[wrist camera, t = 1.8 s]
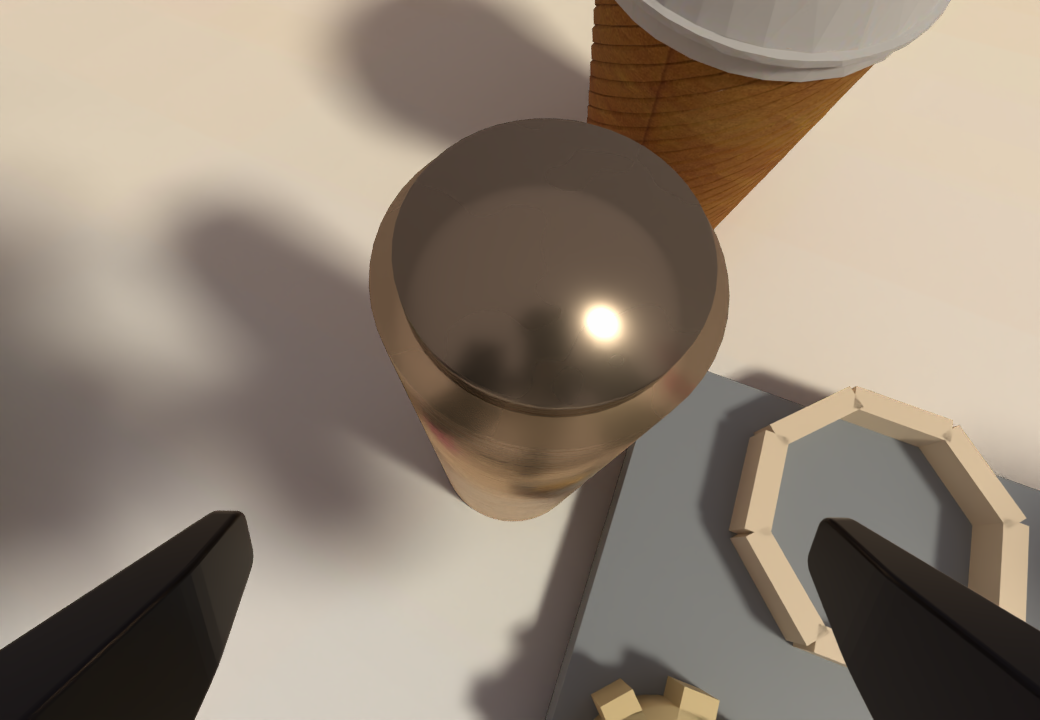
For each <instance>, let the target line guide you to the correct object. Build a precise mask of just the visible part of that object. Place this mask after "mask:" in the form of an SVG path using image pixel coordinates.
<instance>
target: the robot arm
mask: <svg viewBox="0 0 1040 720" xmlns="http://www.w3.org/2000/svg"><path fill="white" fill-rule="evenodd" d="M252 563H253V548H252V544H251V539H250V535H249V530H248V525H247V521H246V518H245V515H244V514H243V513H242V512H240V511H214V512H211V513H209V514H208V515H206V516H205V517H203V518H202V519H200V520H198V521H197V522H195V523H194V524H192V525H191V526H189V527H188V528H186V529H185V530H183V531H182V532H180V533H179V534H177V535H175V536H174V537H172V538H171V539H169V540H168V541H166V542H165V543H163V544H162V545H160V546H159V547H157V548H156V549H154V550H153V551H151V552H149V553H148V554H146V555H145V556H143V557H142V558H140V559H139V560H137V561H136V562H134V563H133V564H131V565H130V566H128V567H126V568H125V569H123V570H122V571H120V572H119V573H117V574H116V575H114V576H113V577H111V578H110V579H108V580H107V581H105V582H103V583H102V584H100V585H99V586H97V587H96V588H94V589H93V590H91V591H90V592H88V593H87V594H85V595H84V596H82V597H80V598H79V599H77V600H76V601H74V602H73V603H71V604H70V605H68V606H67V607H65V608H64V609H62V610H61V611H59V612H57V613H56V614H54V615H53V616H51V617H50V618H48V619H47V620H45V621H44V622H42V623H41V624H39V625H38V626H36V627H35V628H33V629H31V630H30V631H28V632H27V633H25V634H24V635H22V636H21V637H19V638H18V639H16V640H15V641H13V642H12V643H10V644H8V645H7V646H5V647H4V648H2V649H1V650H0V720H195V718H196V716H197V713H198V711H199V709H200V707H201V705H202V702H203V700H204V698H205V696H206V693H207V691H208V689H209V687H210V685H211V682H212V680H213V678H214V675H215V673H216V671H217V668H218V666H219V663H220V660H221V657H222V655H223V652H224V649H225V646H226V643H227V640H228V637H229V634H230V631H231V628H232V625H233V622H234V619H235V616H236V613H237V610H238V607H239V604H240V601H241V598H242V595H243V592H244V589H245V586H246V583H247V580H248V577H249V574H250V571H251V568H252ZM808 569H809V572H810V575H811V578H812V580H813V583H814V585H815V588H816V590H817V593H818V596H819V598H820V601H821V603H822V606H823V608H824V611H825V613H826V616H827V619H828V621H829V624H830V626H831V629H832V631H833V634H834V637H835V639H836V642H837V644H838V647H839V649H840V652H841V654H842V656H843V659H844V661H845V663H846V666H847V668H848V670H849V672H850V674H851V676H852V678H853V680H854V683H855V685H856V687H857V689H858V691H859V692H860V694H861V696H862V698H863V700H864V702H865V704H866V706H867V708H868V710H869V712H870V714H871V716H872V718H873V720H1040V630H1038V629H1036V628H1035V627H1033V626H1031V625H1030V624H1028V623H1026V622H1025V621H1023V620H1021V619H1019V618H1018V617H1016V616H1014V615H1013V614H1011V613H1009V612H1008V611H1006V610H1004V609H1003V608H1001V607H999V606H998V605H996V604H994V603H993V602H991V601H989V600H988V599H986V598H984V597H983V596H981V595H979V594H978V593H976V592H974V591H973V590H971V589H969V588H968V587H966V586H964V585H962V584H961V583H959V582H957V581H956V580H954V579H952V578H951V577H949V576H947V575H946V574H944V573H942V572H941V571H939V570H937V569H936V568H934V567H932V566H931V565H929V564H927V563H926V562H924V561H922V560H921V559H919V558H917V557H916V556H914V555H912V554H911V553H909V552H907V551H906V550H904V549H902V548H900V547H899V546H897V545H895V544H894V543H892V542H890V541H889V540H887V539H885V538H884V537H882V536H880V535H879V534H877V533H875V532H874V531H872V530H870V529H869V528H867V527H865V526H864V525H862V524H860V523H859V522H857V521H855V520H853V519H851V518H840V517H828V518H824V519H823V520H822V521H821V522H820V523H819V525H818V528H817V531H816V534H815V537H814V540H813V542H812V545H811V548H810V551H809V554H808Z"/></svg>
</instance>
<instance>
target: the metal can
mask: <svg viewBox="0 0 1040 720" xmlns="http://www.w3.org/2000/svg"><path fill="white" fill-rule="evenodd" d="M369 291H370V300H371V308H372V312H373V316H374V319H375V323H376V327H377V330H378V332H379V335H380V337H381V339H382V342H383V344H384V346H385V349H386V351H387V353H388V355H389V357H390V359H391V361H392V363H393V365H394V367H395V369H396V371H397V374H398V376H399V378H400V380H401V382H402V384H403V386H404V388H405V390H406V392H407V394H408V396H409V398H410V400H411V402H412V404H413V407H414V409H415V411H416V413H417V415H418V417H419V419H420V421H421V423H422V425H423V427H424V429H425V431H426V433H427V435H428V437H429V440H430V442H431V444H432V446H433V448H434V450H435V452H436V454H437V456H438V458H439V460H440V462H441V464H442V466H443V468H444V471H445V473H446V475H447V477H448V479H449V481H450V483H451V485H452V486H453V488H454V490H455V491H456V493H457V494H458V495H459V496H460V498H461V499H462V500H463V501H464V502H465V503H466V504H468V505H469V506H470V507H471V508H473V509H474V510H476V511H477V512H479V513H481V514H483V515H485V516H488V517H491V518H493V519H498V520H502V521H523V520H528V519H532V518H535V517H538V516H541V515H543V514H545V513H547V512H549V511H550V510H551V509H553V508H554V507H556V506H557V505H558V504H559V503H561V502H562V501H563V500H564V499H566V498H567V497H568V496H569V495H570V494H572V493H573V492H574V491H575V490H577V489H578V488H579V487H580V486H581V485H583V484H584V483H585V482H586V481H587V480H589V479H590V478H591V477H592V476H594V475H595V474H596V473H597V472H598V471H600V470H601V469H602V468H603V467H605V466H606V465H607V464H608V463H609V462H611V461H612V460H613V459H614V458H615V457H617V456H618V455H619V454H620V453H622V452H623V451H624V450H625V449H626V448H628V447H629V446H630V445H631V444H633V443H634V442H635V441H636V440H637V439H639V438H640V437H641V436H642V435H643V434H645V433H646V432H647V431H648V430H650V429H651V428H652V427H653V426H654V425H656V424H657V423H658V422H659V421H661V420H662V419H663V418H664V417H665V416H667V415H668V414H669V413H670V412H671V411H673V410H674V409H675V408H676V407H677V406H678V405H679V404H680V403H681V402H682V401H684V400H685V399H686V398H687V397H688V396H689V395H690V394H691V393H692V391H693V390H694V389H695V388H696V386H697V385H698V384H699V383H700V381H701V380H702V379H703V378H704V376H705V374H706V373H707V371H708V369H709V368H710V366H711V364H712V362H713V361H714V359H715V357H716V354H717V352H718V349H719V347H720V344H721V342H722V339H723V336H724V331H725V327H726V323H727V319H728V308H729V284H728V274H727V269H726V264H725V259H724V255H723V252H722V249H721V247H720V244H719V241H718V238H717V236H716V234H715V232H714V230H713V228H712V226H711V224H710V222H709V220H708V218H707V217H706V215H705V213H704V211H703V209H702V207H701V205H700V203H699V201H698V200H697V198H696V197H695V195H694V194H693V192H692V191H691V189H690V188H689V186H688V185H687V184H686V183H685V182H684V180H683V179H682V178H681V177H680V176H679V175H678V174H677V173H676V171H675V170H673V169H672V168H671V167H670V166H669V165H668V164H667V163H666V162H665V161H664V160H662V159H661V158H660V157H659V156H657V155H656V154H654V153H653V152H652V151H650V150H649V149H647V148H646V147H644V146H643V145H641V144H639V143H637V142H635V141H634V140H632V139H630V138H628V137H626V136H624V135H621V134H619V133H617V132H614V131H612V130H609V129H606V128H603V127H600V126H596V125H593V124H589V123H584V122H579V121H574V120H564V119H528V120H519V121H513V122H508V123H504V124H499V125H496V126H493V127H490V128H487V129H484V130H481V131H479V132H477V133H474V134H472V135H470V136H468V137H466V138H464V139H462V140H460V141H459V142H457V143H456V144H454V145H453V146H451V147H449V148H448V149H446V150H445V151H444V152H443V153H441V154H440V155H439V156H438V157H437V158H435V159H434V160H433V161H431V162H430V163H429V164H428V165H426V166H425V167H424V168H423V169H421V170H420V171H419V172H418V173H417V174H416V175H415V176H414V177H413V178H412V179H411V180H410V181H409V182H408V183H407V184H406V185H405V186H404V187H403V188H402V190H401V191H400V192H399V194H398V195H397V197H396V198H395V199H394V201H393V202H392V204H391V205H390V207H389V209H388V211H387V212H386V214H385V216H384V218H383V220H382V222H381V224H380V227H379V230H378V233H377V235H376V238H375V241H374V244H373V250H372V255H371V260H370V270H369Z"/></svg>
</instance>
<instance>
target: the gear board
mask: <svg viewBox="0 0 1040 720" xmlns="http://www.w3.org/2000/svg"><path fill="white" fill-rule="evenodd" d="M952 425H953V420H951V419H948V418H945V417H942V416H939V415H936V414H934V413H931V412H928V411H925V410H922V409H920V408H917V407H914V406H911V405H908V404H906V403H903V402H900V401H897V400H894V399H891V398H889V397H886V396H883V395H880V394H877V393H875V392H872V391H869V390H866V389H863V388H861V387H858V386H856V387H854V388H852V389H851V387H850V386H849V387H847V388H845V389H843V390H841V391H839V392H837V393H835V394H832V395H830V396H828V397H826V398H824V399H822V400H820V401H818V402H816V403H814V404H812V405H810V406H808V407H805V406H803V405H800V404H797V403H794V402H792V401H789V400H786V399H783V398H781V397H778V396H775V395H772V394H769V393H767V392H764V391H761V390H758V389H756V388H753V387H750V386H747V385H744V384H742V383H739V382H736V381H733V380H731V379H728V378H725V377H722V376H720V375H717V374H714V373H711V372H708V371H707V373H706V374H705V376H704V378H703V379H702V380H701V381H700V383H699V384H698V385H697V386H696V388H695V389H694V390H693V391H692V393H691V394H690V395H689V396H688V397H687V398H686V399H685V400H684V401H682V402H681V403H680V404H679V405H678V406H677V407H676V408H675V409H674V410H673V411H671V412H670V413H669V414H668V415H667V416H665V417H664V418H663V419H662V420H661V421H659V422H658V423H657V424H656V425H654V426H653V427H652V428H651V429H650V430H648V431H647V432H646V433H645V434H643V435H642V436H641V437H640V438H639V439H637V440H636V441H635V442H634V443H633V444H631V445H630V446H629V447H628V449H627V452H626V456H625V459H624V462H623V465H622V469H621V472H620V475H619V479H618V482H617V485H616V488H615V492H614V495H613V498H612V502H611V505H610V508H609V511H608V515H607V518H606V521H605V525H604V528H603V531H602V534H601V538H600V541H599V544H598V548H597V551H596V554H595V557H594V561H593V564H592V567H591V571H590V574H589V577H588V580H587V584H586V587H585V590H584V594H583V597H582V600H581V603H580V607H579V610H578V613H577V617H576V620H575V623H574V626H573V630H572V633H571V636H570V640H569V643H568V646H567V649H566V653H565V656H564V659H563V663H562V666H561V669H560V672H559V676H558V679H557V682H556V686H555V689H554V692H553V695H552V699H551V702H550V705H549V709H548V712H547V715H546V718H545V720H873V718H872V716H871V714H870V712H869V710H868V708H867V706H866V704H865V702H864V700H863V698H862V696H861V694H860V692H859V691H858V689H857V687H856V685H855V683H854V680H853V678H852V676H851V674H850V672H849V670H848V668H847V666H846V663H845V661H844V659H843V656H842V654H841V652H840V649H839V647H838V644H837V642H836V639H835V637H834V634H833V631H832V629H831V626H830V624H829V621H828V619H827V616H826V613H825V611H824V608H823V606H822V603H821V601H820V598H819V596H818V593H817V590H816V588H815V585H814V583H813V580H812V578H811V575H810V572H809V569H808V554H809V551H810V548H811V545H812V542H813V540H814V537H815V534H816V531H817V528H818V525H819V523H820V522H821V521H822V520H823V519H824V518H828V517H840V518H851V519H853V520H855V521H857V522H859V523H860V524H862V525H864V526H865V527H867V528H869V529H870V530H872V531H874V532H875V533H877V534H879V535H880V536H882V537H884V538H885V539H887V540H889V541H890V542H892V543H894V544H895V545H897V546H899V547H900V548H902V549H904V550H906V551H907V552H909V553H911V554H912V555H914V556H916V557H917V558H919V559H921V560H922V561H924V562H926V563H927V564H929V565H931V566H932V567H934V568H936V569H937V570H939V571H941V572H942V573H944V574H946V575H947V576H949V577H951V578H952V579H954V580H956V581H957V582H959V583H961V584H962V585H964V586H966V587H968V588H969V589H971V590H973V591H974V592H976V593H978V594H979V595H981V596H983V597H984V598H986V599H988V600H989V601H991V602H993V603H994V604H996V605H998V606H999V607H1001V608H1003V609H1004V610H1006V611H1008V612H1009V613H1011V614H1013V615H1014V616H1016V617H1018V618H1019V619H1021V620H1023V621H1025V622H1026V623H1028V624H1030V625H1031V626H1033V627H1035V628H1036V629H1038V630H1040V491H1038V490H1036V489H1033V488H1030V487H1027V486H1025V485H1022V484H1019V483H1016V482H1013V481H1011V480H1008V479H1005V478H1002V477H1000V476H997V475H995V474H994V472H993V471H992V470H991V468H990V467H989V465H988V464H987V463H986V461H985V460H984V459H983V457H982V456H981V454H980V453H979V452H978V450H977V449H976V447H975V446H974V445H973V443H972V442H971V441H970V439H969V438H968V436H967V435H966V434H965V432H964V431H963V429H962V428H961V427H960V425H958V426H955V427H952Z"/></svg>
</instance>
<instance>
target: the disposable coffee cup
mask: <svg viewBox="0 0 1040 720" xmlns="http://www.w3.org/2000/svg"><path fill="white" fill-rule="evenodd" d="M949 2H950V0H595V5H596V7H595V8H594V24H595V26H594V27H593V28H592V32H593V42H594V43H593V45H592V46H591V53H592V59H593V60H592V61H591V62H590V71H591V76H590V90H589V105H588V117H587V123H589V124H593V125H596V126H600V127H603V128H606V129H609V130H612V131H614V132H617V133H619V134H621V135H624V136H626V137H628V138H630V139H632V140H634V141H635V142H637V143H639V144H641V145H643V146H644V147H646V148H647V149H649V150H650V151H652V152H653V153H654V154H656V155H657V156H659V157H660V158H661V159H662V160H664V161H665V162H666V163H667V164H668V165H669V166H670V167H671V168H672V169H673V170H675V171H676V173H677V174H678V175H679V176H680V177H681V178H682V179H683V180H684V182H685V183H686V184H687V185H688V186H689V188H690V189H691V191H692V192H693V194H694V195H695V197H696V198H697V200H698V201H699V203H700V205H701V207H702V209H703V211H704V213H705V215H706V217H707V218H708V220H709V222H710V224H711V226H712V228H713V230H714V229H715V227H716V226H717V225H718V224H719V223H720V222H721V221H722V220H723V219H724V218H725V217H726V216H727V215H728V214H729V213H730V212H731V211H732V210H733V209H734V208H735V207H736V206H737V205H738V204H739V203H740V201H741V200H742V199H743V198H744V197H745V196H746V195H747V194H748V193H749V192H750V191H751V190H752V189H753V188H754V187H755V186H756V185H757V184H758V183H759V182H760V181H761V180H762V179H763V178H764V177H765V176H766V175H767V174H768V173H769V172H770V171H771V170H772V169H773V168H774V167H775V166H776V165H777V164H778V162H779V161H780V160H781V159H782V158H784V157H785V156H786V154H787V153H788V152H789V151H790V150H791V149H792V148H793V147H794V146H795V145H796V144H797V143H798V142H799V141H800V140H801V139H802V138H803V137H804V136H805V134H806V133H807V132H808V131H809V130H810V129H811V128H812V127H813V126H814V125H815V124H816V123H817V122H818V121H819V120H821V119H822V118H823V117H824V116H825V114H826V113H827V112H828V111H829V110H830V109H831V108H832V107H833V106H834V105H835V104H836V103H837V101H838V100H839V99H840V98H841V97H842V96H843V95H844V94H845V93H846V92H847V91H848V90H849V89H850V88H851V87H852V86H853V85H854V84H855V83H856V82H857V81H858V80H859V79H860V78H861V77H862V76H863V75H864V74H865V73H866V72H867V71H868V70H869V69H870V68H871V67H872V66H873V65H874V64H876V63H878V62H881V61H883V60H885V59H886V58H887V57H888V56H890V55H891V54H892V53H893V52H895V51H897V50H899V49H901V48H903V47H905V46H907V45H908V44H910V43H911V42H912V41H914V40H915V39H916V38H918V37H919V36H920V35H922V34H923V33H924V32H926V31H927V30H928V29H929V28H930V27H931V26H932V25H933V24H934V23H935V22H936V21H937V20H938V19H939V17H940V16H941V15H942V14H943V12H944V11H945V9H946V7H947V6H948V4H949Z"/></svg>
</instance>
